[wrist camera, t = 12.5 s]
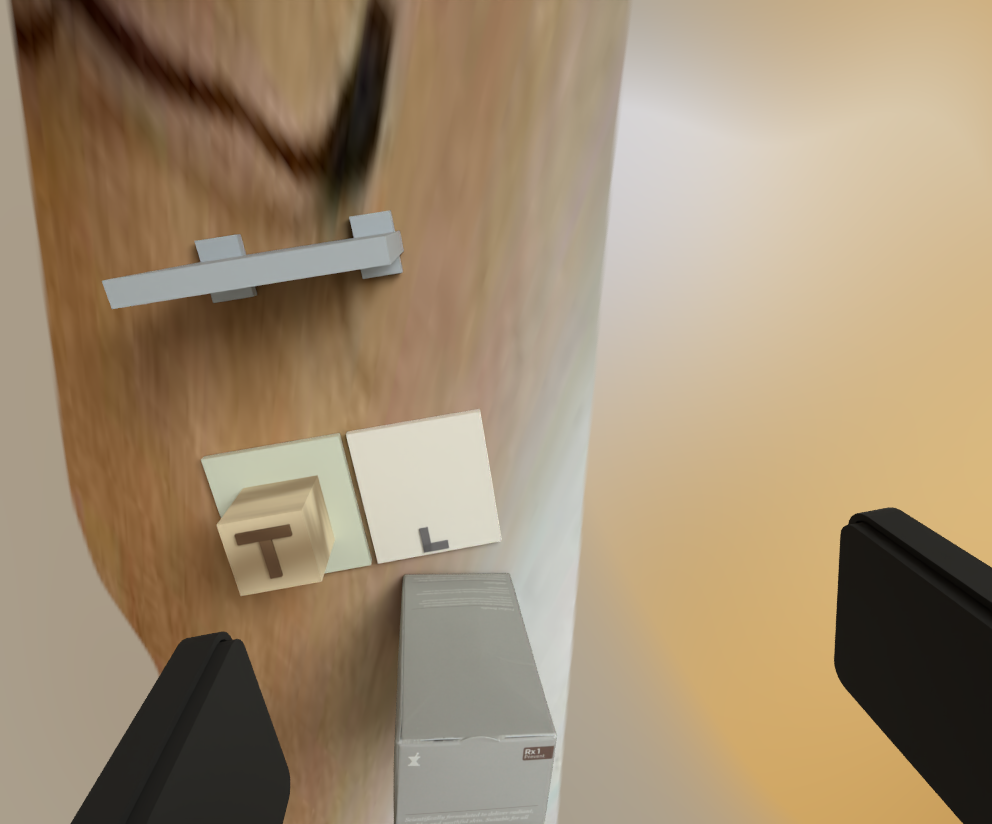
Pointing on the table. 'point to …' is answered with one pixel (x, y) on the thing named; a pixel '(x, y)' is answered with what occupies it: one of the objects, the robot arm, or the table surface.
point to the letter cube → (277, 535)
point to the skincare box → (468, 706)
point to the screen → (264, 265)
